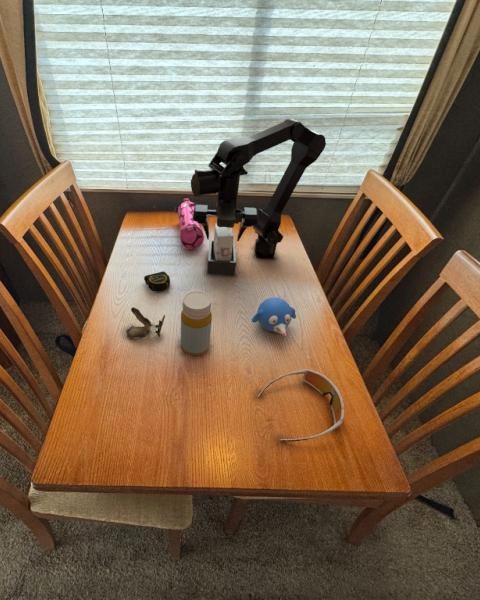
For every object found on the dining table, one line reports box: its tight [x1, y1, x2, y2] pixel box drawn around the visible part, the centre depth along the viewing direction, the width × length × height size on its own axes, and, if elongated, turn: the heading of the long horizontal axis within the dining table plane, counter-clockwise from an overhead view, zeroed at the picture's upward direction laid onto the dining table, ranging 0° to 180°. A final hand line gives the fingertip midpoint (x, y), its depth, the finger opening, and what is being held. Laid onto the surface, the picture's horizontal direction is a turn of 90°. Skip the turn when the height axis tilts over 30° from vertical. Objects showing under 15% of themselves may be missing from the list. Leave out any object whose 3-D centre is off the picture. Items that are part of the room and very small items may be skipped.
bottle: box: [180, 290, 213, 356], centre depth 74 cm, size 7×7×15 cm
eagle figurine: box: [125, 306, 166, 339], centre depth 80 cm, size 8×7×9 cm
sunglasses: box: [257, 368, 345, 442], centre depth 66 cm, size 14×15×5 cm
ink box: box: [213, 223, 234, 261], centre depth 102 cm, size 9×5×12 cm, turn 4°
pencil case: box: [173, 198, 205, 250], centre depth 116 cm, size 21×10×10 cm, turn 6°
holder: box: [206, 239, 237, 277], centre depth 104 cm, size 9×13×5 cm
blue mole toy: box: [251, 297, 297, 338], centre depth 81 cm, size 12×12×8 cm
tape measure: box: [143, 271, 171, 293], centre depth 95 cm, size 7×7×4 cm
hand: (222, 239), depth 100 cm, fingers open, 9 cm apart
